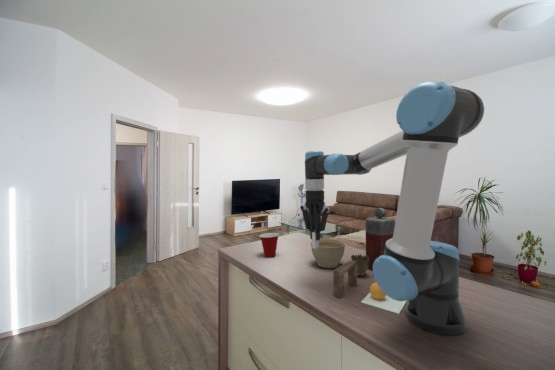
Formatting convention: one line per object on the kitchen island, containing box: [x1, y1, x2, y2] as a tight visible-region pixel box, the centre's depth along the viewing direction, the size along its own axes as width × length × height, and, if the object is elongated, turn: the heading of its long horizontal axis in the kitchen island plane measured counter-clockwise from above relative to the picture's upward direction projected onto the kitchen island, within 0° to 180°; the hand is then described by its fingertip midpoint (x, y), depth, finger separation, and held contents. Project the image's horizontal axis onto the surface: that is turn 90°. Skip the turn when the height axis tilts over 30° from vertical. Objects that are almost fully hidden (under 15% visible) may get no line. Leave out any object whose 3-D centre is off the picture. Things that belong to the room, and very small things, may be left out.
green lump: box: [350, 254, 369, 277], centre depth 110 cm, size 8×7×8 cm
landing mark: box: [360, 292, 408, 315], centre depth 87 cm, size 12×12×1 cm
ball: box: [369, 281, 386, 299], centre depth 89 cm, size 6×6×6 cm
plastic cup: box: [259, 232, 280, 259], centre depth 138 cm, size 11×11×12 cm
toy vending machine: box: [365, 207, 396, 272], centre depth 116 cm, size 9×11×28 cm
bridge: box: [332, 259, 358, 299], centre depth 96 cm, size 3×14×9 cm, turn 141°
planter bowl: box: [310, 238, 346, 269], centre depth 123 cm, size 16×16×11 cm
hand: (315, 247), depth 104 cm, fingers closed
